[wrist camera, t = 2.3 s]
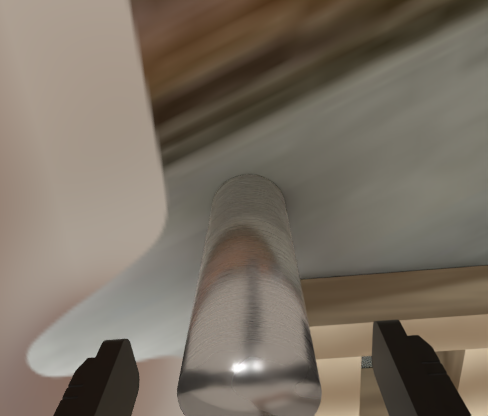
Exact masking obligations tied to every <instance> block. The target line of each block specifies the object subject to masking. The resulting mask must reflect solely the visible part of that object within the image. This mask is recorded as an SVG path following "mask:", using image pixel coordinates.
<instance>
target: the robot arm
mask: <svg viewBox="0 0 488 416" xmlns="http://www.w3.org/2000/svg"><path fill="white" fill-rule="evenodd" d="M372 366H373V371H374V375H375V378H376V381H377V384H378V386H379V389H380V392H381V395H382V397H383V400H384V403H385V406H386V408H387V411H388V414H389V416H472V415H471V414H470V412H469V410H468V408H467V407H466V405H465V403H464V401H463V400H462V398H461V396H460V394H459V393H458V391H457V389H456V388H455V386H454V384H453V382H452V381H451V379H450V377H449V375H447V372H446V370H445V368H444V367H443V365H442V363H440V360H439V358H438V356H437V354H436V353H435V351H434V349H433V347H432V346H431V345H430V344H428V343H427V342H426V341H425V340H424V339H422V338H421V337H420V336H419V335H410V336H407V334H406V332H405V330H404V328H403V326H402V324H401V322H400V321H399V320H398V319H395V320H382V321H374V323H373V335H372ZM138 390H139V372H138V368H137V365H136V361H135V358H134V354H133V351H132V347H131V344H130V341H129V340H128V339H116V340H105V341H103V343H102V345H101V347H100V349H99V351H98V353H97V355H96V357H95V358H87V359H86V361H85V362H84V363H83V364H82V365H81V366H80V367H79V368H78V369H77V370H76V371H75V373H74V375H73V377H72V379H71V381H70V383H69V387H68V388H67V389H66V391H65V393H64V395H63V399H62V400H61V401H60V403H59V406H58V407H57V409H56V412H55V414H54V416H131V414H132V411H133V407H134V404H135V401H136V397H137V394H138Z"/></svg>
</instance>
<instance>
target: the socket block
mask: <svg viewBox="0 0 488 416" xmlns="http://www.w3.org/2000/svg"><path fill="white" fill-rule="evenodd" d="M300 281H301V287H302V292H303V297H304V302H305V307H306V312H307V317H308V322H309V327H310V332H311V337H312V342H313V348H314V353H315V358H316V363H317V368H318V373H319V378H320V383H321V390H322V397H321V402H320V406H319V408H318V410H317V412H316V414H315V415H314V416H389V414H388V411H387V408H386V406H385V403H384V400H383V397H382V395H381V392H380V389H379V386H378V384H377V381H376V378H375V375H374V371H373V368H361V356H372V335H373V323H374V321H382V320H395V319H398V320H399V321H400V322H401V324H402V326H403V328H404V330H405V332H406V334H407V336H410V335H419V336H420V337H421V338H422V339H424V340H425V341H426V342H427V343H428V344H430V345H431V346H432V347H433V349H434V351H435V353H436V354H437V356H438V358H439V360H440V363H442V365H443V367H444V368H445V370H446V372H447V375H449V377H450V379H451V381H452V382H453V384H454V386H455V388H456V389H457V391H458V393H459V394H460V396H461V398H462V400H463V401H464V403H465V405H466V407H467V408H468V410H469V412H470V414H471V415H472V416H488V265H486V266H473V267H460V268H447V269H434V270H421V271H408V272H395V273H382V274H369V275H356V276H343V277H329V278H316V279H303V280H300Z"/></svg>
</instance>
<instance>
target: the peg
mask: <svg viewBox="0 0 488 416" xmlns="http://www.w3.org/2000/svg"><path fill="white" fill-rule="evenodd" d="M177 397H178V402H179V405H180V408H181V410H182V412H183V414H184V415H185V416H314V415H315V414H316V412H317V410H318V408H319V406H320V402H321V397H322V390H321V383H320V378H319V373H318V368H317V363H316V358H315V353H314V348H313V342H312V337H311V332H310V327H309V322H308V317H307V312H306V307H305V302H304V297H303V292H302V287H301V281H300V276H299V271H298V266H297V261H296V256H295V251H294V246H293V241H292V236H291V231H290V226H289V220H288V215H287V210H286V205H285V200H284V197H283V195H282V193H281V191H280V189H279V188H278V187H277V186H276V185H275V184H274V183H273V182H271V181H270V180H268V179H266V178H264V177H262V176H258V175H251V174H247V175H240V176H236V177H233V178H231V179H229V180H228V181H226V182H225V183H224V184H223V185H222V186H221V187H220V188H219V189H218V190H217V192H216V194H215V196H214V199H213V203H212V209H211V214H210V219H209V224H208V230H207V235H206V240H205V246H204V251H203V256H202V261H201V267H200V272H199V277H198V282H197V288H196V293H195V298H194V303H193V309H192V314H191V319H190V324H189V330H188V335H187V340H186V345H185V351H184V356H183V361H182V366H181V372H180V377H179V382H178V388H177Z"/></svg>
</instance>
